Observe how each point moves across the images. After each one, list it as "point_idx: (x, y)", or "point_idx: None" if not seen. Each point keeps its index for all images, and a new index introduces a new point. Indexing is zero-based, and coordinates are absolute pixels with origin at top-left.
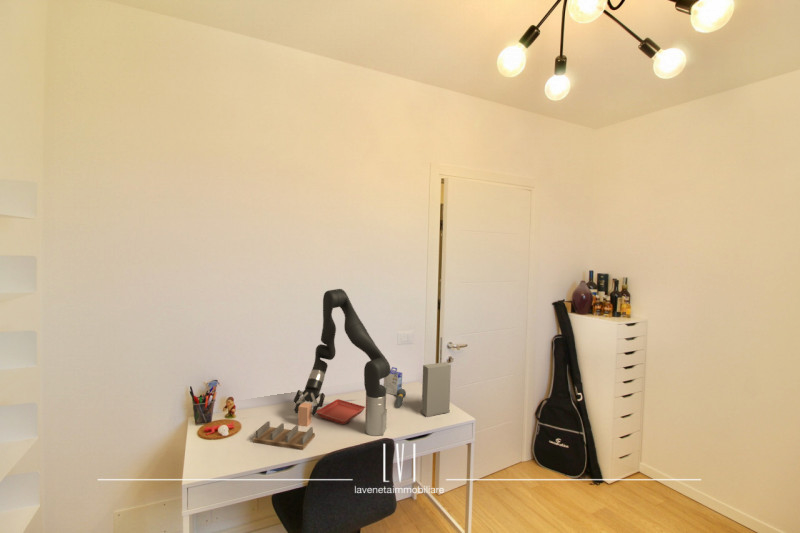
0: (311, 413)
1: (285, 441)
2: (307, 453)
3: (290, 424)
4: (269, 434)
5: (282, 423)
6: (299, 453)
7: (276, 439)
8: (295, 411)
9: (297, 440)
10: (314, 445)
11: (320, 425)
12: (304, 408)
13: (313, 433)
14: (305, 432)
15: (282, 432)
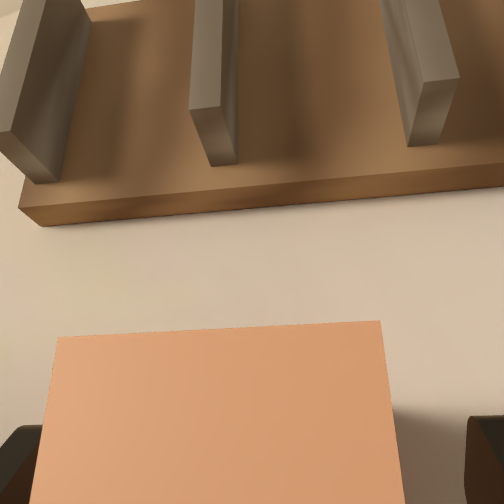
0: None
1: (246, 8)
2: None
3: (483, 394)
4: (493, 31)
5: (445, 77)
6: (92, 5)
7: (351, 2)
8: (491, 418)
9: (146, 53)
10: None
11: None
12: (170, 341)
13: (31, 199)
14: (124, 186)
15: (383, 104)
